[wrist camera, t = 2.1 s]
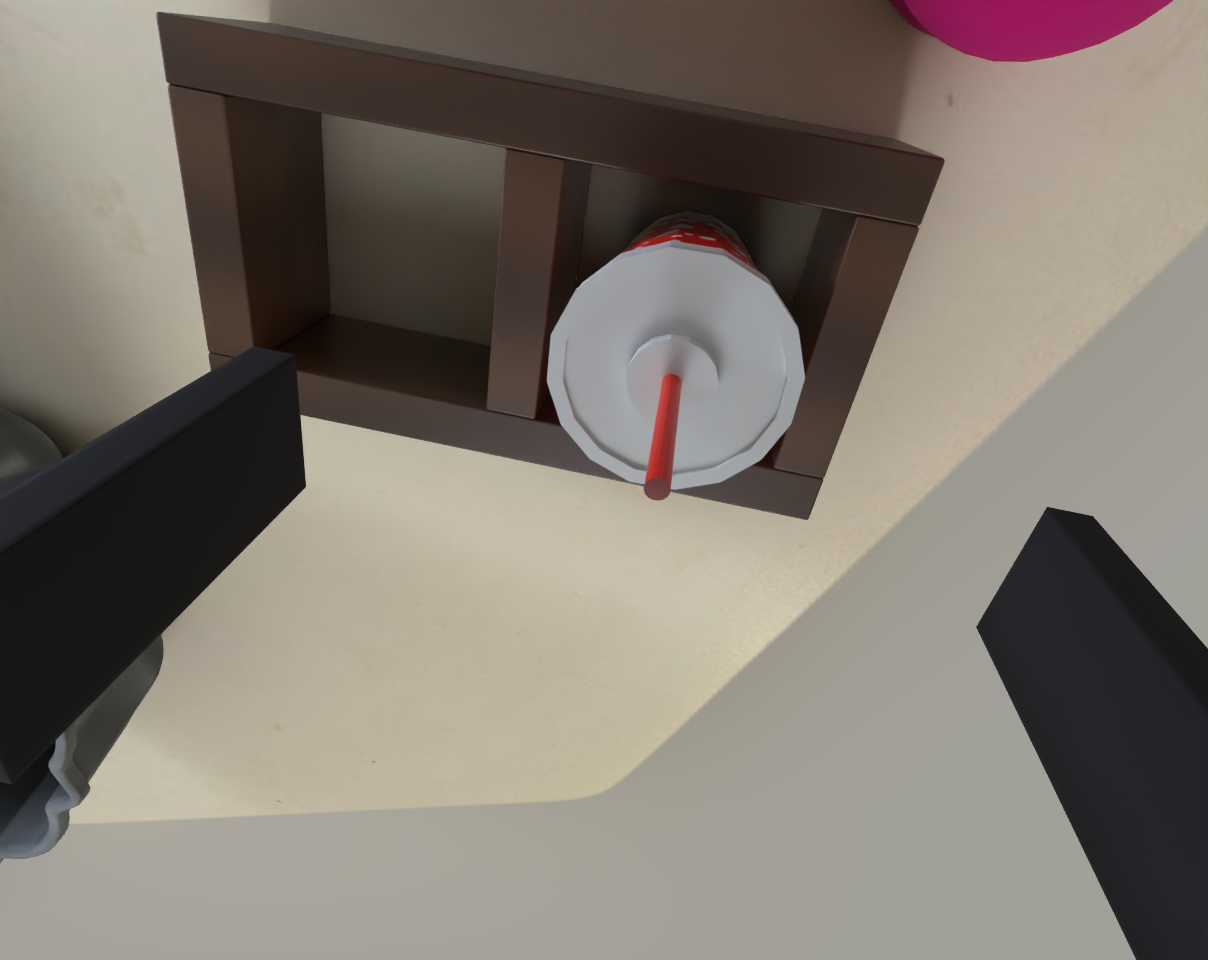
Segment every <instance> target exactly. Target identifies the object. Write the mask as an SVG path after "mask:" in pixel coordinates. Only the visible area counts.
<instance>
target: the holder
mask: <svg viewBox="0 0 1208 960" xmlns="http://www.w3.org/2000/svg"><path fill="white" fill-rule="evenodd" d="M156 18H157V25H158V31H159V37H160V44H161V50H162V57H163V63H164V70H165V76H166V81H167V82H168V83H169V84H170V85H168V93H169V100H170V106H171V113H172V119H173V125H174V132H175V138H176V145H177V151H178V158H179V164H180V171H181V177H182V184H183V190H184V197H185V203H186V209H187V216H188V222H189V229H190V235H191V242H192V248H193V255H194V261H195V268H196V274H197V281H198V287H199V294H200V300H201V306H202V313H203V319H204V326H205V332H206V339H207V345H208V350H209V352H210V353H209V361H210V367H211V371H212V370H214V369H215V368H217V367H219V366H221V365H222V364H224V363H226V362H227V361H229V360H231V359H232V358H234V357H236V356H238V355H239V354H241V353H243V352H244V351H246V350H248V349H249V348H251V347H253V346H255V347H260V348H265V349H270V350H275V351H279V352H284V353H289V354H294V355H296V368H297V381H298V393H299V406H300V415H304V416H309V417H314V418H318V419H323V420H328V421H333V422H338V423H343V424H347V425H352V426H357V427H362V428H367V429H371V430H376V431H381V432H386V433H391V434H395V435H400V436H405V437H410V438H415V439H420V440H424V441H429V442H434V443H439V444H444V445H448V446H453V447H458V448H463V449H468V450H472V451H477V452H482V453H487V454H492V455H497V456H501V457H506V458H511V459H516V460H521V461H525V462H530V463H535V464H540V465H545V466H549V467H554V468H559V469H564V470H569V471H574V472H578V473H583V474H588V475H593V476H598V477H602V478H607V479H612V480H617V481H622V482H626V483H631V484H636V485H641V486H644V485H645V484H640V483H634V482H629V481H627V480H626V479H624V478H622V477H620V476H619V475H617V474H615V473H613V472H612V471H610V470H608V469H606V468H605V467H603V466H601V465H599V464H598V463H596V462H594V461H592V460H591V459H589V458H588V456H587V455H586V454H585V453H584V452H583V450H582V449H581V448H580V447H579V446H578V444H577V443H576V442H575V441H574V440H573V438H572V437H571V436H570V435H569V434H568V432H567V431H566V430H565V429H564V428H563V426H562V425H561V424H560V420H559V417H558V414H557V411H556V408H555V405H554V402H553V399H552V396H551V393H550V390H549V387H548V384H547V372H548V361H549V349H550V338H551V333H552V332H553V330H554V328H555V326H556V324H557V323H558V321H559V319H560V317H561V315H562V314H563V312H564V310H565V308H566V306H567V305H568V303H569V301H570V299H571V297H572V296H573V294H574V292H575V286H576V278H577V271H578V264H579V256H580V249H581V241H582V234H583V226H584V219H585V212H586V204H587V197H588V189H589V182H590V174H591V167H592V164H593V165H598V166H604V167H609V168H614V169H619V170H625V171H630V172H635V173H640V174H646V175H651V176H656V177H661V178H667V179H672V180H677V181H682V182H688V183H693V184H698V185H703V186H709V187H714V188H719V189H724V190H730V191H735V192H740V193H745V194H751V195H756V196H761V197H766V198H772V199H777V200H782V201H787V202H793V203H798V204H803V205H808V206H814V207H819V208H823V209H822V213H821V216H820V219H819V222H818V226H817V229H816V232H815V235H814V239H813V242H812V245H811V249H810V252H809V255H808V258H807V262H806V265H805V268H804V271H803V275H802V278H801V281H800V284H799V288H798V291H797V294H796V298H795V301H794V304H793V307H792V311H791V315H792V317H793V318H794V321H795V323H796V324H797V326H798V330H799V337H800V344H801V352H802V359H803V366H804V373H805V380H804V383H803V387H802V390H801V393H800V397H799V400H798V403H797V407H796V410H795V413H794V417H793V420H792V423H791V425H790V426H789V427H788V428H787V430H786V431H785V432H784V433H783V434H782V436H781V437H780V438H779V439H778V440H777V442H776V443H775V444H774V445H773V446H772V448H771V449H770V450H769V451H768V452H767V454H766V455H765V456H764V457H763V458H762V460H760V461H758V462H757V463H755V464H753V465H751V466H749V467H748V468H746V469H744V470H742V471H740V472H739V473H737V474H735V475H733V476H731V477H729V478H728V479H726V480H724V481H722V482H720V483H714V484H708V485H701V486H695V487H689V488H683V489H676V490H673V489H671V490H670V492H675V493H679V494H684V495H689V496H694V497H699V498H704V499H708V500H713V501H718V502H723V503H728V504H732V505H737V506H742V507H747V508H752V509H756V510H761V511H766V512H771V513H776V514H781V515H785V516H790V517H795V518H800V519H805V520H808V519H809V516H810V514H811V511H812V508H813V506H814V503H815V500H816V498H817V495H818V493H819V490H820V487H821V485H822V482H823V478H824V477H825V474H826V472H827V469H828V466H829V464H830V461H831V458H832V456H833V453H834V451H835V448H836V445H837V443H838V440H839V437H840V435H841V432H842V430H843V427H844V424H845V422H846V419H847V416H848V414H849V411H850V409H851V406H852V403H853V401H854V398H855V395H856V393H857V390H858V388H859V385H860V382H861V380H862V377H863V375H864V372H865V369H866V367H867V364H868V361H869V359H870V356H871V354H872V351H873V348H874V346H875V343H876V340H877V338H878V335H879V333H880V330H881V327H882V325H883V322H884V319H885V317H886V314H887V312H888V309H889V306H890V304H891V301H892V298H893V296H894V293H895V291H896V288H897V285H898V283H899V280H900V278H901V275H902V272H903V270H904V267H905V264H906V262H907V259H908V257H909V254H910V251H911V249H912V246H913V243H914V241H915V238H916V236H917V233H918V230H919V227H917V226H919V225H920V224H921V222H922V220H923V217H924V214H925V212H926V209H927V207H928V204H929V201H930V199H931V196H932V193H933V191H934V188H935V186H936V183H937V180H938V178H939V175H940V172H941V170H942V167H943V165H944V159H943V158H942V157H939V156H936V155H934V154H931V153H929V152H926V151H924V150H921V149H919V148H916V147H914V146H911V145H909V144H906V143H904V142H901V141H898V140H895V139H890V138H885V137H879V136H874V135H869V134H863V133H858V132H852V131H847V130H842V129H836V128H831V127H826V126H820V125H815V124H809V123H804V122H799V121H793V120H788V119H782V118H777V117H772V116H766V115H761V114H756V113H750V112H745V111H739V110H734V109H729V108H723V107H718V106H713V105H707V104H702V103H696V102H691V101H686V100H680V99H675V98H670V97H664V96H659V95H653V94H648V93H643V92H637V91H632V90H626V89H621V88H616V87H610V86H605V85H600V84H594V83H589V82H583V81H578V80H573V79H567V78H562V77H557V76H551V75H546V74H540V73H535V72H530V71H524V70H519V69H513V68H508V67H503V66H497V65H492V64H487V63H481V62H476V61H470V60H465V59H460V58H454V57H449V56H444V55H438V54H433V53H427V52H422V51H417V50H411V49H406V48H401V47H395V46H390V45H384V44H379V43H374V42H368V41H363V40H357V39H352V38H347V37H341V36H336V35H331V34H325V33H320V32H314V31H309V30H304V29H298V28H293V27H288V26H282V25H277V24H271V23H264V22H254V21H244V20H234V19H224V18H215V17H205V16H195V15H185V14H175V13H165V12H157V13H156ZM320 113H325V114H331V115H336V116H341V117H346V118H352V119H357V120H362V121H367V122H373V123H378V124H383V125H388V126H394V127H399V128H404V129H409V130H415V131H420V132H425V133H430V134H436V135H441V136H446V137H451V138H457V139H462V140H467V141H472V142H478V143H483V144H488V145H493V146H499V147H504V148H507V149H506V150H505V161H504V175H503V188H502V202H501V216H500V229H499V243H498V257H497V270H496V284H495V298H494V311H493V325H492V339H491V346H486V345H481V344H476V343H471V342H466V341H461V340H456V339H451V338H446V337H441V336H436V335H431V334H427V333H422V332H417V331H412V330H407V329H402V328H397V327H392V326H387V325H382V324H377V323H372V322H367V321H362V320H357V319H352V318H347V317H342V316H337V315H332V314H330V312H331V309H330V291H329V273H328V254H327V236H326V217H325V199H324V181H323V162H322V144H321V125H320Z"/></svg>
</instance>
